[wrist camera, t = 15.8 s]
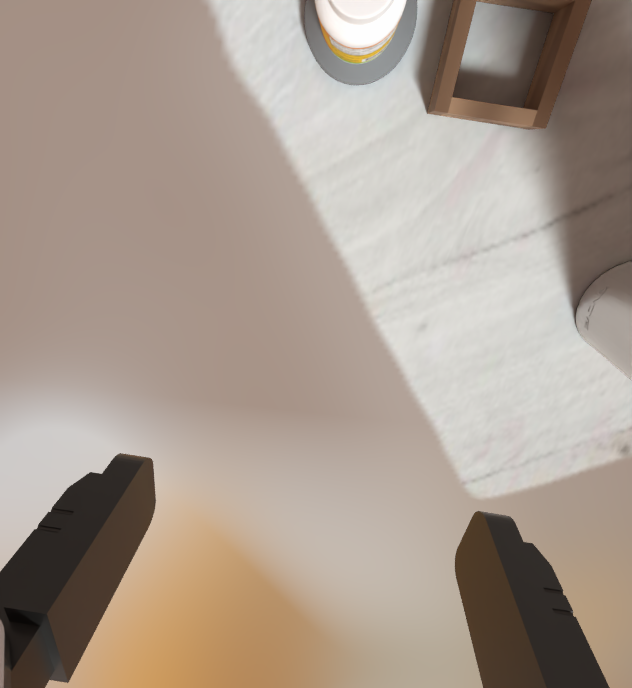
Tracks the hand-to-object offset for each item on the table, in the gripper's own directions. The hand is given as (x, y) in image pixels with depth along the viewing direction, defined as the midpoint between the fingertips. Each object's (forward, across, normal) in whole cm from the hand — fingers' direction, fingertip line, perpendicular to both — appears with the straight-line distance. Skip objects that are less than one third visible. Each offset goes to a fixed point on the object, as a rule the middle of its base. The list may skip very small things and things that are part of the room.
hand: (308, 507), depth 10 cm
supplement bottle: (+29, +1, -16) cm, 33 cm away
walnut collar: (+30, -10, -15) cm, 35 cm away
